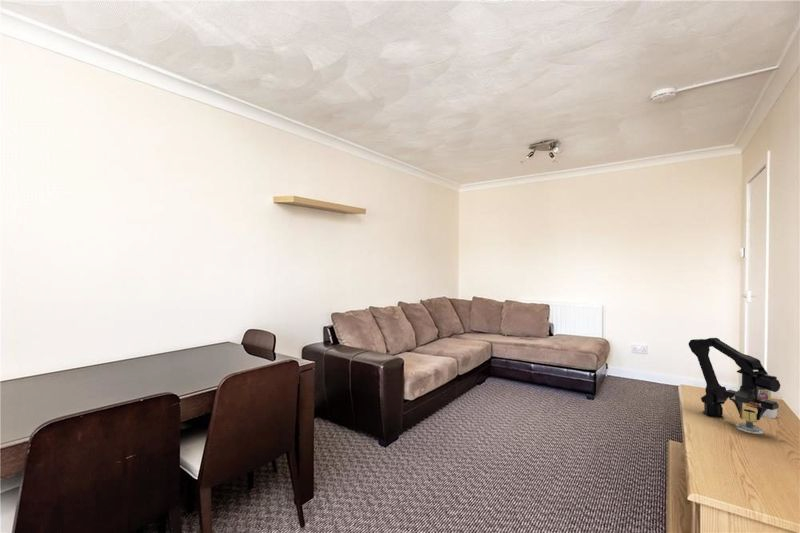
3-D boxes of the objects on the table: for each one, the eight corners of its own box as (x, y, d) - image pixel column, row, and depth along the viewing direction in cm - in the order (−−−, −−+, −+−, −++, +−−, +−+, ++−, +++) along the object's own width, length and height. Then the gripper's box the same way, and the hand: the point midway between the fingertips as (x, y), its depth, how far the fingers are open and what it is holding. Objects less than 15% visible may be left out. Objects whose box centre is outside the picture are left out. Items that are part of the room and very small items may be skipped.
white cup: (769, 413, 194) (769, 400, 194) (781, 419, 187) (782, 405, 187) (755, 412, 195) (755, 399, 195) (767, 418, 188) (767, 404, 188)
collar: (737, 417, 177) (737, 409, 177) (744, 415, 180) (744, 407, 180) (754, 423, 171) (754, 414, 171) (761, 420, 174) (761, 412, 174)
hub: (742, 432, 172) (742, 418, 172) (730, 423, 182) (730, 410, 182) (769, 435, 169) (769, 421, 169) (755, 426, 179) (755, 413, 179)
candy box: (746, 405, 205) (746, 378, 204) (749, 404, 207) (749, 377, 206) (767, 411, 197) (768, 382, 197) (771, 409, 199) (771, 381, 199)
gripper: (716, 380, 181) (716, 412, 181) (766, 393, 163) (765, 428, 164) (729, 378, 185) (729, 408, 185) (779, 390, 168) (778, 424, 168)
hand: (749, 417), depth 175 cm, fingers closed on collar, 6 cm apart
